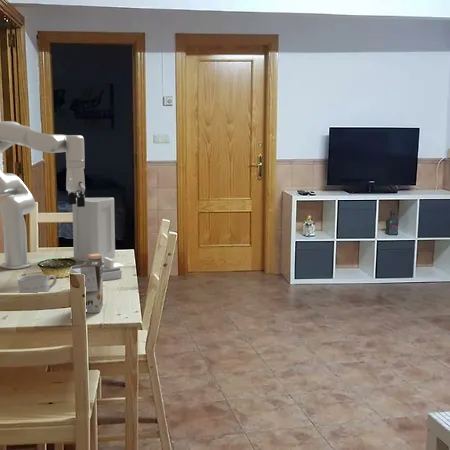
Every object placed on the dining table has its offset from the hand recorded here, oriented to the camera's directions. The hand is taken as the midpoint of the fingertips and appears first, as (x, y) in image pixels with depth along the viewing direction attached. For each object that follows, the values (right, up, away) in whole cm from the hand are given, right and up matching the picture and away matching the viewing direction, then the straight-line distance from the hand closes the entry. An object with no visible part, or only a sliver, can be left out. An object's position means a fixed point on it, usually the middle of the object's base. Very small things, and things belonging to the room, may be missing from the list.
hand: (76, 205), depth 267 cm
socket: (+9, -30, -6) cm, 32 cm away
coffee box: (+18, -37, -51) cm, 66 cm away
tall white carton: (+2, -25, +28) cm, 37 cm away
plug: (+9, -30, -6) cm, 32 cm away
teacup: (-5, -35, -38) cm, 52 cm away
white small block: (+16, -26, -2) cm, 31 cm away
